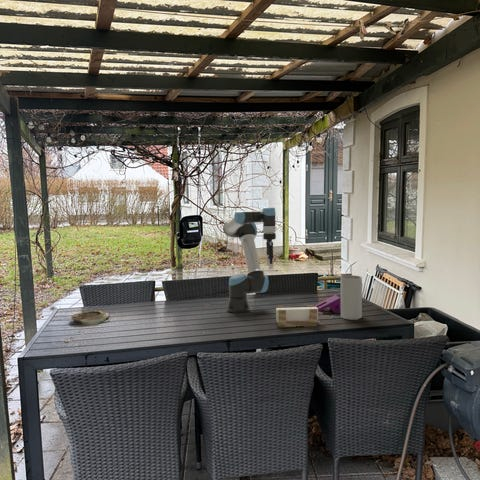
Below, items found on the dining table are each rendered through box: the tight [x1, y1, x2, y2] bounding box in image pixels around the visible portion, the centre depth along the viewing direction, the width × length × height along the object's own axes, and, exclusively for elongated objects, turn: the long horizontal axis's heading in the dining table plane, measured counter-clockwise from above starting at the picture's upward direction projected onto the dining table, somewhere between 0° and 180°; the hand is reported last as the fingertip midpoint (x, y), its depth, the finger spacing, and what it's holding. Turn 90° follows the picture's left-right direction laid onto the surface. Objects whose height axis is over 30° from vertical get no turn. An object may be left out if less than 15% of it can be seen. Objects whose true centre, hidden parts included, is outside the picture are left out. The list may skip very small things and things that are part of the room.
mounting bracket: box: [314, 294, 341, 314], centre depth 277 cm, size 9×8×18 cm
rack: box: [276, 304, 318, 328], centre depth 250 cm, size 10×22×10 cm, turn 91°
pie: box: [70, 310, 111, 326], centre depth 269 cm, size 28×27×5 cm
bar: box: [275, 306, 324, 322], centre depth 249 cm, size 4×27×7 cm, turn 91°
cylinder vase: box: [340, 274, 363, 321], centre depth 260 cm, size 12×12×25 cm
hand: (270, 267), depth 262 cm, fingers open, 13 cm apart
